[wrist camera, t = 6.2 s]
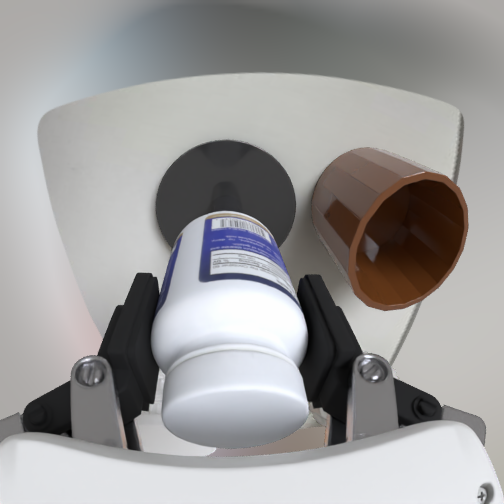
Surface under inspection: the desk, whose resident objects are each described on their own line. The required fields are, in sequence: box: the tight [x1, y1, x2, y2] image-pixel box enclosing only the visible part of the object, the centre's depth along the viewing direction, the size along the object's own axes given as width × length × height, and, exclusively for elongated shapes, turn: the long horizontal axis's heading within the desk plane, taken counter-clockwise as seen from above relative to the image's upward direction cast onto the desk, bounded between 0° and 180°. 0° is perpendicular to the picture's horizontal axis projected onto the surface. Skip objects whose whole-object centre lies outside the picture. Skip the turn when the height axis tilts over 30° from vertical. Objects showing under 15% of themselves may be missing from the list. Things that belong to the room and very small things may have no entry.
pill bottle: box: [151, 211, 309, 449], centre depth 10 cm, size 5×5×9 cm
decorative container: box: [136, 369, 217, 456], centre depth 32 cm, size 12×12×18 cm
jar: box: [311, 147, 468, 311], centre depth 27 cm, size 14×15×12 cm
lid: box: [156, 140, 296, 249], centre depth 28 cm, size 15×15×7 cm
